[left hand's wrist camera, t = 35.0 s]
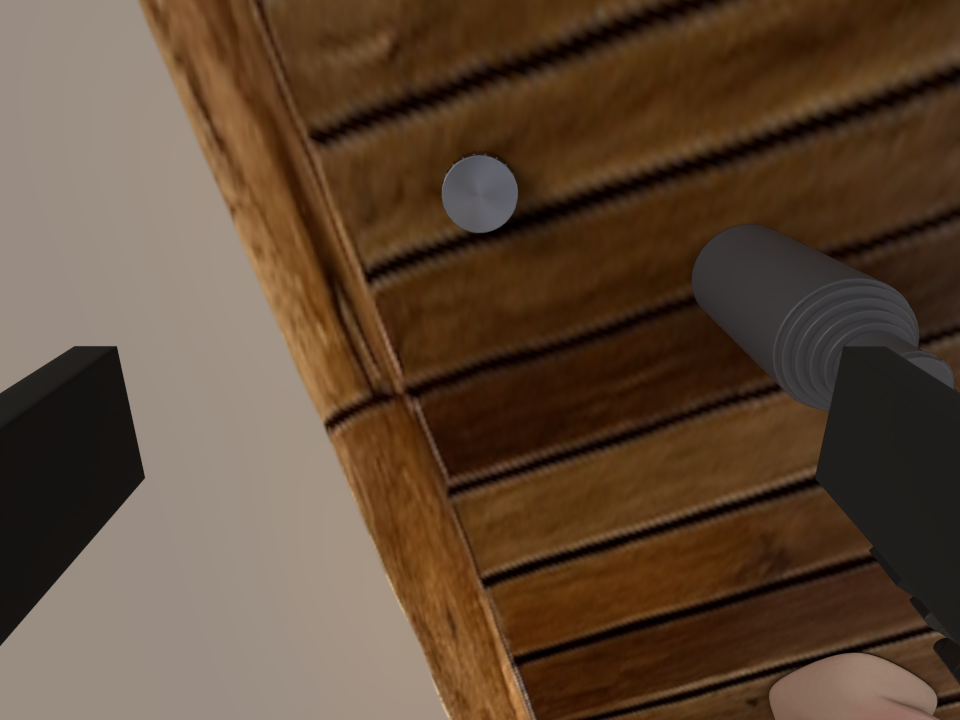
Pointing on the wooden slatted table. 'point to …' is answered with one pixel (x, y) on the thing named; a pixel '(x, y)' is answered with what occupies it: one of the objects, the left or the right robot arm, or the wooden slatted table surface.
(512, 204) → the cap
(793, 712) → the anatomical model
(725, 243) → the bottle
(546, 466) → the wooden slatted table surface
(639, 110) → the wooden slatted table surface
